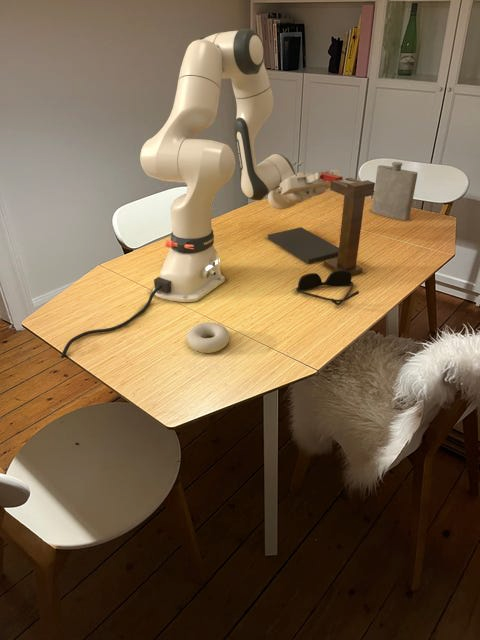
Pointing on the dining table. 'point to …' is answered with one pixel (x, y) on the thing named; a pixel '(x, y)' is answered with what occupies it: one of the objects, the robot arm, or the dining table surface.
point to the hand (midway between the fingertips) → (325, 174)
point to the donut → (208, 344)
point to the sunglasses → (333, 280)
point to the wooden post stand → (350, 223)
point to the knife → (334, 178)
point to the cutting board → (304, 245)
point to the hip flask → (394, 191)
